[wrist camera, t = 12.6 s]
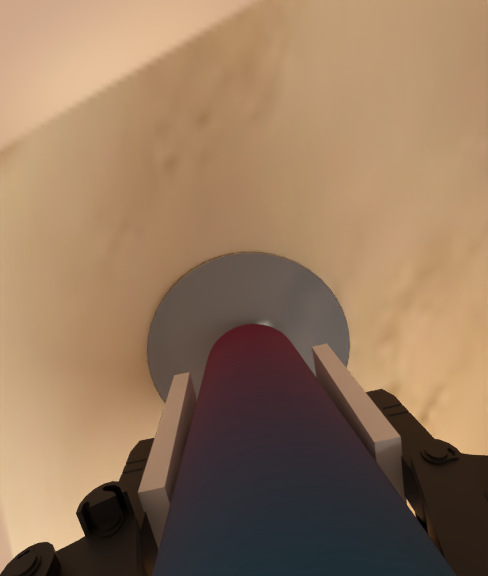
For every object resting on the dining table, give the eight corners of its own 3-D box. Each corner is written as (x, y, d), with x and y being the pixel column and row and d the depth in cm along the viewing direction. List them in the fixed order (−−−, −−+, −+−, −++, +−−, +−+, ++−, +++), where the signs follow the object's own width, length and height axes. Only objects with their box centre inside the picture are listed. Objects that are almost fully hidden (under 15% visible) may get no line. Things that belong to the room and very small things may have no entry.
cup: (318, 307, 17) (988, 968, 2) (309, 420, 18) (655, 1257, 4) (188, 306, 16) (-133, 1138, 2) (190, 422, 18) (35, 1384, 3)
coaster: (125, 275, 18) (121, 277, 17) (333, 232, 18) (336, 233, 17) (176, 451, 21) (175, 458, 20) (355, 414, 21) (359, 420, 20)
